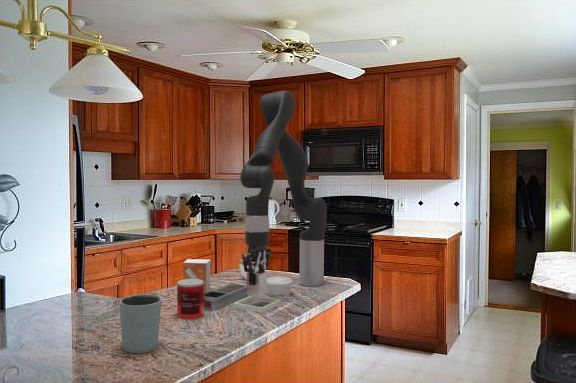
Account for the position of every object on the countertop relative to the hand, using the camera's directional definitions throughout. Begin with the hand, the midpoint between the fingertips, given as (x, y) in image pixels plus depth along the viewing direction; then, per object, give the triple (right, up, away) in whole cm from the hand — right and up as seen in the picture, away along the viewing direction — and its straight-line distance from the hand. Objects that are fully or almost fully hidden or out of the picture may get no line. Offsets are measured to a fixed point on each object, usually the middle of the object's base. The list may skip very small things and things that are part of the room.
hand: (256, 283), depth 155 cm
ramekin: (+6, -8, +18) cm, 20 cm away
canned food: (-19, -9, -10) cm, 23 cm away
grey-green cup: (-27, -10, -33) cm, 43 cm away
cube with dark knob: (0, -4, 0) cm, 4 cm away
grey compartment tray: (-12, -8, +6) cm, 15 cm away
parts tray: (0, -8, 0) cm, 8 cm away
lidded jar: (-4, -6, +41) cm, 42 cm away
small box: (-21, -8, +12) cm, 25 cm away
